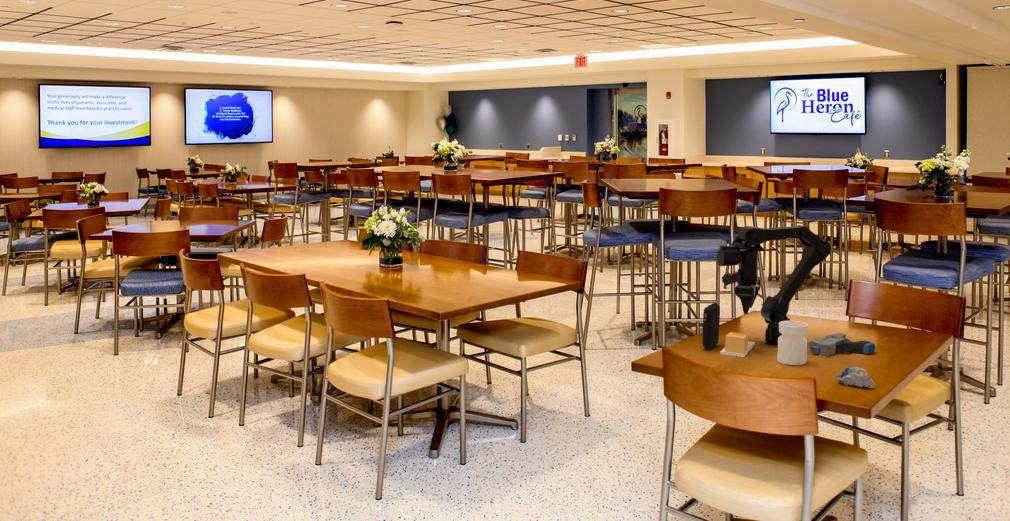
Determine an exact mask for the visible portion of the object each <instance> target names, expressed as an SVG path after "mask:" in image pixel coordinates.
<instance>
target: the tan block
mask: <svg viewBox="0 0 1010 521" xmlns="http://www.w3.org/2000/svg"><path fill="white" fill-rule="evenodd" d="M743 333H744V332H732V331H729V333H726V335H725V337H724V338H725V340H724V342H725V343H724V347H725V351H727V352H735V353H745V352H746V350H747V349H748V341H749V333H746V334H743Z"/></svg>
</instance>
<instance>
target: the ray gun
mask: <svg viewBox="0 0 1010 521" xmlns="http://www.w3.org/2000/svg"><path fill="white" fill-rule="evenodd" d="M846 336H847V333H846V334H845V333H842V332H837V333H834V334H828V335H826V336H825V337H823V338H821V339H817V338H816V339H812V340H810V341H809V353H810V352H811V354H813V353H814V355H816V354H818V355H817V356H819V355H821V356H820V357H823V356H828V357H831V356H830V355H832V356H834V355H833V354H835V355H836V354H837V353H838V354H843V355H844V354H848V353H856V352H858V353H857V354H862V353H863V355H868V354H873V353H875V351H876V343H874V342H872V341H869V340H858V341H852V340H850V339H848V338H847V337H846ZM835 352H837V353H835Z"/></svg>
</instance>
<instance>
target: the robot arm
mask: <svg viewBox="0 0 1010 521" xmlns="http://www.w3.org/2000/svg"><path fill="white" fill-rule="evenodd" d="M791 239H798V241H799V242H800V244H801V245H802V246H803V249H802V251H801V256H800V257H801V258H800V260H799V262H798V263H797V264H796V266H795V267H794V269H793V271H792V272H791V274H790V275H789V277H788V278H787V279H786V281H785V282H784V283H783V285H782V287H781V288H780V290H778V292H777V294H776V295H774V296H771V295H768V296H767V297H766V298H765V301H763V303H761V308H760V315H761V317H762V318H763V319H764V322H765V323H766V324H767V327H766V329H765V333H764V334H765V335H764V336H765V337H764V338H765V339H764V341H765V345H770V346H773V345H774V346H778V338H779V337H780V336H781V335H782V334H781V333H780V332H779V322H781V321H792V320H790V318H789V317H788V316H787V315H788V314H789V308H790V303H791V301H792V299H793V298H794V296H795V295H796V293H797V292H798V291H799V289H800V288H801V286H802V285H803V283H804V282H805V281H806V279H807V278H808V276H809V275H810V273H811V272H812V271H813V269H814V268H815V267H816V266H818V265H819V264H821V263H823V262H824V260H826V259H827V258H828V256H829V255H830V254H831V252H832V249H831V245H830V243H829V242H828V241H825V240H823V238H821V237H819V236H818V235H817V234H815V233H814V232H813V231H812V230H811V228H809V227H807V226H805V225H801V224H798V225H794V226H781V227H767V228H765V227H757V226H750V225H749V226H748V225H745V226H742V227H741V228H740V229H739V231H738V233H737V236H736V237H735V238H734V240H733V241H732V243H731V244H730V245H725V244H724V245H719V249H718V250H717V254H716V262H717V265H718V266H719V267H731V266H738V265H739V268H738V269H737V271H733V272H727V273H724V274H723V275H722V276H721V282H722V283H723V284H724V287H726V286H730V285H731V284H734V283H737V285H735V287H734V288H733V290H734V291H733V292H734V296H736V297H738V298H739V300H740V303H741V307H742V311H743V312H742V313H743V314H744V315H747V314H748V313H749V310H750V309H752V308H753V305H754V303H755V301H756V299H757V297H758V294H759V292H760V290H761V288H762V285H763V279H762V278H761V277H760V276H758V275H759V274H758V272H759V268H760V266H759V252H765V250H766V249H765V248H764V247H763V246H762V245H761V244H764V243H766V242H769V241H776V240H777V241H779V240H791Z"/></svg>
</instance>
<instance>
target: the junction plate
mask: <svg viewBox="0 0 1010 521" xmlns="http://www.w3.org/2000/svg"><path fill="white" fill-rule="evenodd" d="M742 333H743V334H747V333H745V332H742ZM755 344H756V341H749V340H748V349H747V350H746V352H745V353H735V352H727V351H725V346H724V347H723V348H722V349H721V350H720V351H719V354H720V356H729V357H736V356H737V358H744V357H746V356H745V355H748V353H749V352H750V351H751V350H752V349H753V348H754V347H755Z"/></svg>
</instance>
